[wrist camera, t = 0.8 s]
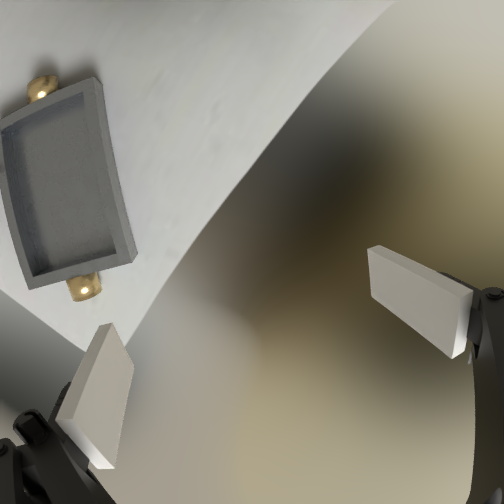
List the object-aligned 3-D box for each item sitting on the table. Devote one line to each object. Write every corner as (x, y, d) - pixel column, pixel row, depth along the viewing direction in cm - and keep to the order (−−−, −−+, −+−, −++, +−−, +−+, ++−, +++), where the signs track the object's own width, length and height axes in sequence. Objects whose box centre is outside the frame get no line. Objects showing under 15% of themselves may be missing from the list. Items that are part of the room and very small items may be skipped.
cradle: (5, 109, 28) (-11, 104, 24) (100, 65, 30) (90, 54, 26) (48, 299, 36) (35, 311, 32) (144, 275, 38) (139, 287, 34)
